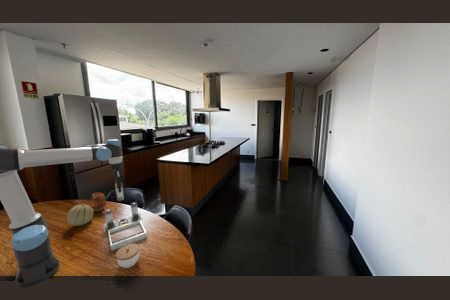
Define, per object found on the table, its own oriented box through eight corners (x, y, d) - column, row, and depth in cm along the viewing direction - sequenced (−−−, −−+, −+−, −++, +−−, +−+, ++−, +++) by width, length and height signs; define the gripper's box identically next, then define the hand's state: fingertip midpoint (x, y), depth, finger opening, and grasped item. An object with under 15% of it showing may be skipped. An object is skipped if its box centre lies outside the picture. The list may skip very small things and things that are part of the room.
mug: (90, 210, 149) (88, 193, 146) (101, 206, 156) (98, 189, 154) (100, 214, 143) (98, 197, 140) (111, 210, 150) (109, 193, 147)
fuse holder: (143, 221, 134) (142, 216, 133) (104, 234, 120) (103, 228, 119) (140, 215, 141) (139, 210, 141) (103, 226, 127) (102, 221, 127)
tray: (147, 237, 116) (146, 232, 115) (111, 251, 104) (110, 245, 104) (140, 224, 130) (140, 220, 129) (108, 235, 118) (107, 230, 118)
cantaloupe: (63, 228, 125) (59, 208, 123) (84, 217, 139) (81, 199, 137) (80, 231, 122) (76, 211, 119) (99, 219, 136) (96, 201, 133)
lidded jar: (143, 255, 101) (142, 240, 99) (135, 271, 90) (133, 255, 89) (124, 256, 101) (122, 241, 99) (113, 272, 90) (110, 256, 88)
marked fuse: (124, 199, 126) (122, 183, 124) (117, 201, 123) (115, 184, 121) (123, 197, 129) (121, 181, 127) (116, 199, 127) (114, 183, 124)
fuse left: (114, 226, 125) (111, 210, 123) (107, 228, 123) (104, 212, 120) (113, 223, 128) (111, 208, 126) (106, 225, 126) (104, 209, 124)
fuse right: (139, 218, 134) (137, 203, 132) (133, 220, 132) (131, 205, 130) (137, 216, 138) (136, 201, 135) (132, 218, 135) (130, 203, 133)
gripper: (124, 164, 117) (128, 198, 121) (120, 159, 130) (124, 189, 135) (110, 166, 112) (115, 201, 117) (108, 160, 126) (112, 192, 130)
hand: (119, 195), depth 126 cm, fingers closed on marked fuse, 4 cm apart
